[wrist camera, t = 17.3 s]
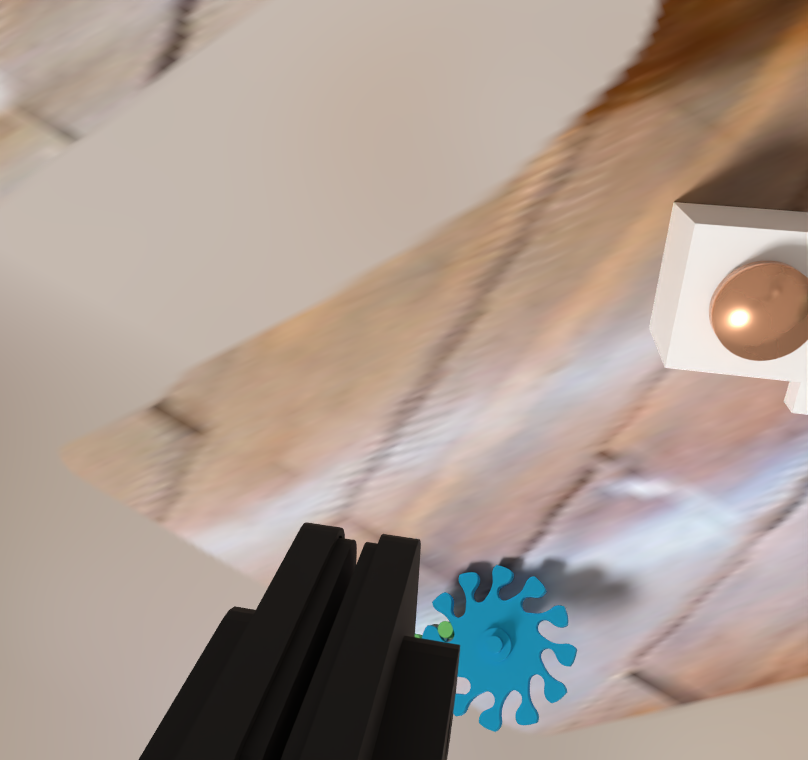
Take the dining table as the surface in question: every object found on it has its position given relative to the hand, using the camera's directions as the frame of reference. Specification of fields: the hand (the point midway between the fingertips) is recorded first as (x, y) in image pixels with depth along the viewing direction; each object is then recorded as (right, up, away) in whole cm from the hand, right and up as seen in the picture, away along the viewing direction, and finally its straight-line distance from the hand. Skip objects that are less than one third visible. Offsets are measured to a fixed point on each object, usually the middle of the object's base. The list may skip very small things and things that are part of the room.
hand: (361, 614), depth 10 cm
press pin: (+18, +9, +27) cm, 33 cm away
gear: (+7, -12, +40) cm, 42 cm away
